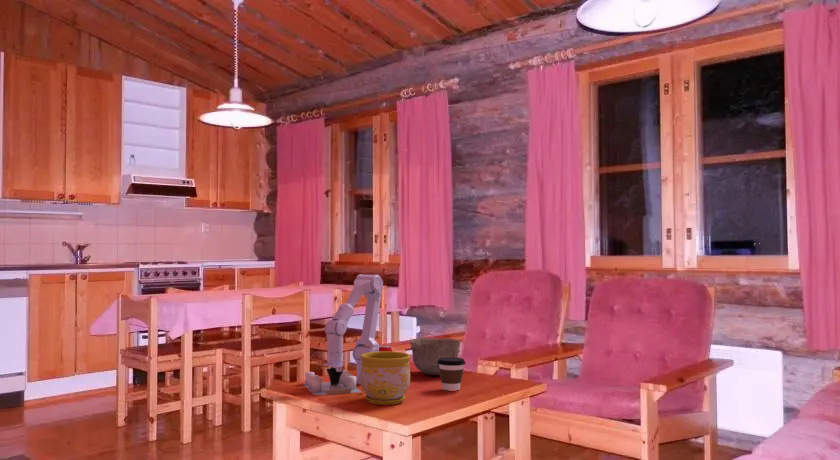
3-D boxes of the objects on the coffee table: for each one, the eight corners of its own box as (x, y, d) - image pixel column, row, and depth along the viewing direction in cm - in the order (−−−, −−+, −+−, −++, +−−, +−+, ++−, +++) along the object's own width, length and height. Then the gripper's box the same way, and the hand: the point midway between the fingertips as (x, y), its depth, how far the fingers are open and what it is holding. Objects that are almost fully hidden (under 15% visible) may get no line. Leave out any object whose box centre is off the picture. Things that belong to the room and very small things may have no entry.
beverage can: (389, 375, 287) (390, 347, 287) (375, 374, 288) (376, 346, 288) (393, 372, 293) (393, 345, 293) (379, 372, 294) (380, 344, 294)
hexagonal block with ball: (336, 389, 250) (336, 383, 250) (346, 391, 247) (346, 384, 247) (327, 391, 247) (327, 384, 247) (336, 393, 243) (337, 386, 243)
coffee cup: (469, 389, 260) (469, 358, 260) (459, 394, 250) (459, 362, 250) (443, 386, 264) (443, 356, 265) (432, 391, 254) (432, 360, 255)
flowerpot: (416, 405, 231) (416, 357, 231) (365, 408, 226) (366, 359, 226) (402, 394, 248) (403, 350, 249) (355, 397, 243) (356, 352, 244)
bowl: (407, 370, 299) (407, 337, 299) (455, 370, 301) (455, 337, 302) (412, 379, 277) (412, 343, 277) (463, 379, 279) (464, 343, 280)
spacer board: (347, 383, 267) (347, 369, 268) (362, 395, 246) (362, 380, 246) (302, 386, 261) (303, 372, 261) (314, 398, 240) (314, 383, 240)
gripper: (320, 349, 256) (319, 384, 255) (328, 354, 242) (328, 392, 242) (338, 348, 258) (337, 383, 258) (347, 354, 245) (347, 391, 244)
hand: (334, 387), depth 250 cm, fingers closed
